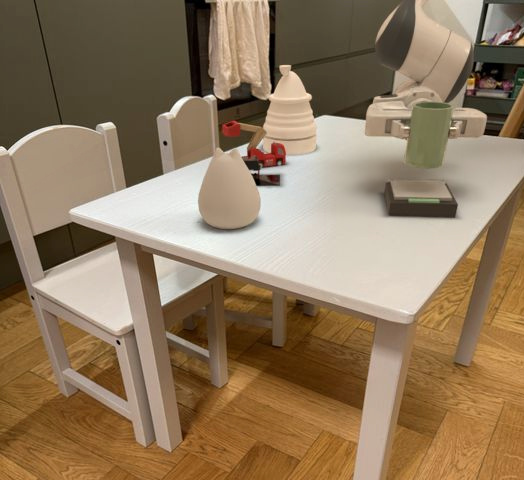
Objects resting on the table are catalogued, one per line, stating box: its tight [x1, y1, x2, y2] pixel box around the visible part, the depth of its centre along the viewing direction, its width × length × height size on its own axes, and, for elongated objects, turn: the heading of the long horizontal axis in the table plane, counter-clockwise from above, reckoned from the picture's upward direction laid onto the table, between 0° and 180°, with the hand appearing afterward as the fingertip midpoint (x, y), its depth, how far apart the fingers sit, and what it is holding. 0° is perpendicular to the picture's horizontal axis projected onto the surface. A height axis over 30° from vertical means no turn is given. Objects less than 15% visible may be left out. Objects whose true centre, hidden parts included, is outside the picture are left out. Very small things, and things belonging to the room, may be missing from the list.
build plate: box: [242, 157, 281, 187], centre depth 101 cm, size 12×7×5 cm, turn 89°
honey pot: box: [262, 64, 317, 156], centre depth 117 cm, size 13×13×18 cm
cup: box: [403, 102, 455, 169], centre depth 83 cm, size 6×6×9 cm
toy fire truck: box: [221, 120, 287, 169], centre depth 107 cm, size 3×14×10 cm, turn 110°
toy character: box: [197, 147, 262, 230], centre depth 81 cm, size 10×10×12 cm
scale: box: [383, 178, 459, 219], centre depth 88 cm, size 11×11×3 cm
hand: (429, 133), depth 82 cm, fingers closed on cup, 6 cm apart
